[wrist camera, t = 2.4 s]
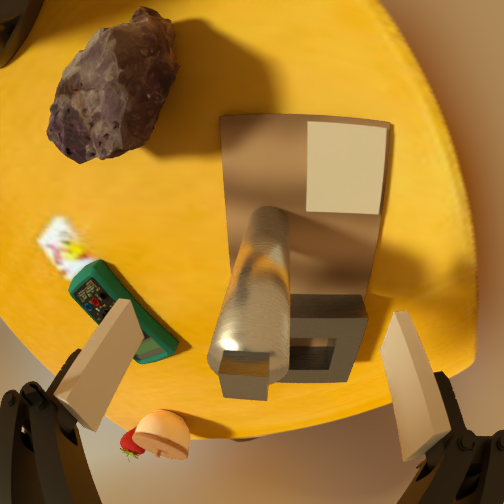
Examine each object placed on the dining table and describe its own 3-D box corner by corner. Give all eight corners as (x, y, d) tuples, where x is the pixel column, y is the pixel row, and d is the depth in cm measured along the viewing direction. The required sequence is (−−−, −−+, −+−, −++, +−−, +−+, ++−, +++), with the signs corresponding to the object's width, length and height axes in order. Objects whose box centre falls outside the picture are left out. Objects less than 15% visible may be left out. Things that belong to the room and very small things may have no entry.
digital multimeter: (100, 252, 28) (86, 265, 25) (182, 341, 33) (175, 358, 30) (74, 276, 30) (61, 290, 28) (148, 353, 36) (140, 369, 33)
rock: (88, 104, 21) (152, 168, 23) (19, 127, 14) (89, 210, 16) (154, 4, 14) (238, 68, 17) (80, -12, 7) (184, 61, 10)
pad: (307, 121, 18) (308, 121, 18) (384, 127, 18) (386, 128, 17) (305, 208, 22) (306, 211, 21) (376, 211, 21) (378, 214, 21)
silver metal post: (247, 205, 22) (193, 357, 9) (289, 206, 22) (291, 364, 9) (249, 243, 24) (207, 403, 11) (288, 243, 24) (285, 410, 10)
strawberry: (157, 431, 51) (146, 466, 43) (141, 433, 54) (130, 464, 45) (137, 419, 49) (123, 455, 41) (123, 421, 52) (110, 453, 44)
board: (221, 115, 19) (219, 116, 19) (387, 121, 18) (389, 122, 17) (240, 353, 32) (239, 357, 32) (346, 355, 31) (347, 359, 30)
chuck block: (258, 292, 26) (255, 316, 24) (361, 294, 25) (368, 317, 22) (260, 358, 31) (257, 381, 28) (343, 359, 30) (346, 382, 27)
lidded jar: (159, 398, 41) (143, 442, 33) (207, 423, 44) (197, 466, 36) (135, 408, 46) (121, 445, 38) (178, 431, 49) (167, 467, 41)
